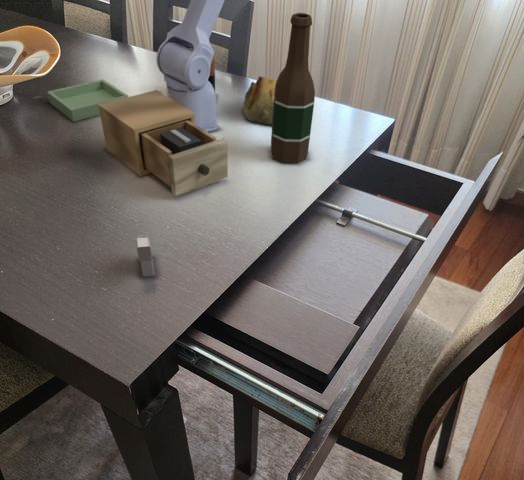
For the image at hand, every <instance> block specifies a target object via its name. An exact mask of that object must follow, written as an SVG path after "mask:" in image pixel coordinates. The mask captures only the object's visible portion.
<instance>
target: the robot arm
mask: <svg viewBox="0 0 524 480" xmlns="http://www.w3.org/2000/svg"><path fill="white" fill-rule="evenodd" d="M225 1H226V0H190V2H189V4H188V6H187V10H186V12H185V15H184V17H183V19H182V22H181V23H179V24H178V25H177V26H175V27H173V28H171V29H170V30H169V32H168V35H167V37H166V39H165V40H164V41H163V42H162V43H161V44H160V46H159V47H158V49H157V52H156V65H157V68H158V70H159V72H160V73H161V74H162V75H163V79H164V80H163V81H164V82H165V84H166V94H167V95H166V96H167V97H169V98H171V99H172V100H174V101H176V102H177V103H179V104H181V105H182V106H184V107H186V108H187V109H189V110H191V111H192V112H194V119H195V125H197V126H198V127H200V128H202V129H203V130H205V131H206V132H208V133H210V132H213V131H217V130H219V128H220V127H219V126H218V125H217V97H216V96H217V95H216V90H215V91H214V88H213V86H212V84H211V83H210V82H209V81H208V78H209V75H210V68H211V62H212V59H213V56H215V52H214V50H213V49H214V48H213V46H212V44H211V42H210V38H211V35H212V32H213V30H214V27H215V25H216V22H217V20H218V18H219V16H220V13H221V10H222V8H223V5H224V3H225Z"/></svg>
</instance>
